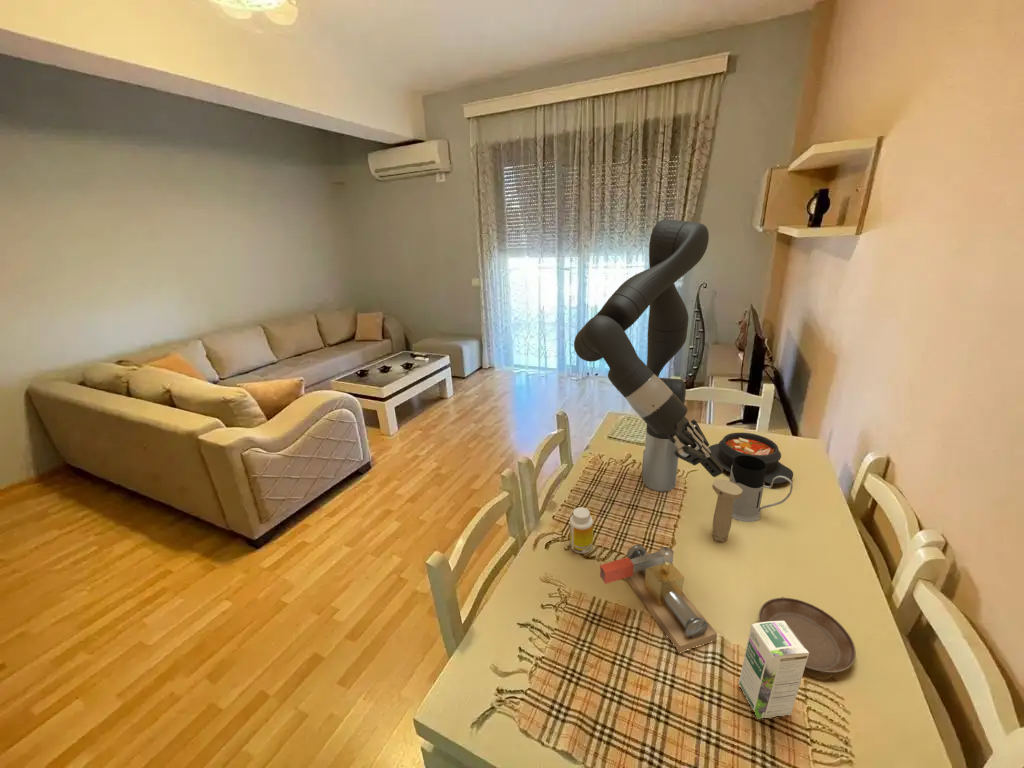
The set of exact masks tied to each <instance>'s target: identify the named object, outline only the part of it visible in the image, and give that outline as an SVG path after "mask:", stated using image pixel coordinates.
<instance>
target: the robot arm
mask: <svg viewBox="0 0 1024 768" xmlns="http://www.w3.org/2000/svg"><path fill="white" fill-rule="evenodd" d="M650 234H651V235H650V237H649V244H648V245H649V246H648V264H649V267H648V268H647V269H644V270H642V271H641V272H638V273H636V274H635V275H632V276H631V277H630V278H628V279H626V280H625V281H624V282H623V283H622V284H621V285H620V286H619V287H618V288H617V289H616V290H615V291H614V292H613V293H612V294H611V296H610V297H608V299H607V300H606V302H605V303H604V305H603V306H602V308H601V309H600V310H599V311H598V312H597V313H596V314H594V316H593V317H592V318H590V319H589V320H588V321H587V322H586V323H585V324H584V325H583V327H582V328H581V329H580V330H579V331H578V332H577V333H576V335H575V337H574V341H573V343H574V344H573V348H574V351H575V354H576V355H577V356H578V357H579V358H580V359H582V360H583V361H586V362H596V361H600V360H602V359H603V360H604V362H605V363H606V364H607V366H608V367H609V370H608V373H607V378H608V380H609V381H610V383H611V384H612V385H613V387H615V389H616V390H617V391H618V392H619V393H620V394H621V395H622V396H623V397H624V399H625V400H626V401H627V403H628V404H629V405H630V407H631V409H633V411H635V412H636V413H637V415H638V416H639V417H640V418H641V419H642V420H643V422H645V424H646V429H645V430H646V431H645V444H644V445H645V448H644V449H643V451H642V452H643V454H642V465H641V466H642V467H641V469H642V470H641V477H642V481H643V484H644V486H646V487H647V488H648V489H650V490H653V491H656V492H662V493H663V492H670V491H672V490H674V489H675V488H676V483H677V475H678V473H677V472H678V463H679V459H681V460H683V461H684V462H687V463H688V464H691V465H693V466H696V465H698V464H700V465H702V467H704V469H705V470H706V471H707V472H708V473H709V475H710V476H711V477H713V478H717V477H718V476H720V475H722V474H723V472H724V469H723V466H722V465H721V464H720V463H719V462H718V461H717V460H716V459H715V458H714V457H713V456H712V454H710V453H711V451H710V449H709V448H708V447H710V443H709V441H708V439H707V438H706V436H705V434H704V432H703V431H702V429H701V427H700V426H699V424H698V422H697V421H696V419H692V420H688V418H687V417H686V416H687V413H688V410H689V409H688V407H687V406H686V404H685V403H686V402H685V401H686V395H687V394H686V392H687V391H686V390H687V388H686V383H685V381H684V380H683V379H681V378H670V377H669V378H668V377H665V378H664V377H659V376H660V374H661V372H662V371H663V369H664V367H666V365H667V364H668V363H669V361H671V360H672V359H673V358H674V357H675V356H676V355H677V354H678V353H679V352H680V350H682V348H683V347H684V345H685V343H686V342H687V341H686V340H687V335H688V326H689V313H688V309H687V306H686V304H685V303H684V301H683V298H682V296H681V294H680V293H679V291H678V288H677V287H676V284H675V283H676V282H678V280H680V279H681V278H682V277H683V276H684V275H686V274H687V273H688V272H689V271H691V270H692V269H693V268H694V267H695V266H696V265H698V263H699V262H700V261H701V260H702V259H703V257H704V255H705V254H706V251H707V248H708V246H709V239H710V236H709V235H710V234H709V229H708V227H707V226H706V225H705V224H703V223H701V222H696V221H689V220H679V219H677V220H676V219H667V218H666V219H661V220H658V221H657V222H656V224H655V225H654V227H653V229H652V231H651V233H650ZM647 308H649V313H648V321H647V323H648V325H647V349H646V350H647V351H646V352H647V354H646V355H647V356H646V364H645V362H644V361H643V360H642V359H641V358H640V357H639V355H638V353H637V351H636V349H635V347H634V345H633V344H632V342H631V341H630V339H629V337H628V335H627V333H626V332H625V331H627V330H628V329H629V328H630V327H632V325H634V323H635V322H637V320H639V318H640V317H641V316H642V314H644V312H646V310H647Z"/></svg>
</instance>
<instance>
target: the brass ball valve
mask: <svg viewBox="0 0 1024 768" xmlns="http://www.w3.org/2000/svg"><path fill="white" fill-rule="evenodd" d="M646 553H647V550H646V548H645V546H643V545H642V544H635V545H633V546H631V547H630V548H629V549H628V551H627V553H626V558H627V557H628V558H629V559H633V558H637V557H640V556H644V555H646ZM640 571H641V572H642V573H643V574H644V576H645V588H646V590H647V591H648V592H649V594H650V595H651V597H652V598H653V599H654V601H655V602H656V603H657V605H658V606H659V607H661V606H664V605H667V606H668V607H669V608H670V610H671V611H672V612H673V614H674V615H675V616H676V618H677V619H678V620H679V622H680V623H681V624H682V625H683V627H684V628H685V630H684V633H685V635H686V636H687V637H688V639H692V638H697V637H699V636H701V635H704V633H705V632H706V630H707V628H708V625H707V623H706V622H705V621H704V619H702V618H698V617H697V616H696V615H695V613H694V612H693V611H692V610H691V609H690V607H689V606H688V605H687V604H686V602H685V601H684V600H683V599H682V592H683V590H684V581H685V577H684V574H682V573H681V572H680V570H679V569H677V567H676V566H675V565H674V564H673V563H672V564H671V565H664V564H661V565H657V566H654V567H651V568H647V569H644V570H640Z"/></svg>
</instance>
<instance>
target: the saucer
mask: <svg viewBox="0 0 1024 768" xmlns="http://www.w3.org/2000/svg"><path fill="white" fill-rule="evenodd" d="M758 621H759V623H760V622H768V621H785V622H786V624H787V625H788V626H789V627H790V629H791V630H792V631H793V633H794V634H795V635H796V636H797V638H798V639H799V641H800V642H801V643H802V645H803V646H804V648H805V649H806V650H807V651H808V652H809V655H808V659H807V662H806V665H805V668H806V669H809V670H812V671H814V672H820V673H829V674H830V673H838V672H843V671H846V670H848V669H849V668H850V667H851V666H853V664H854V662H855V660H856V656H857V655H856V654H857V651H856V645H855V644H854V641H853V639H852V637H851V636H850V634H849V633H848V632H847V630H846V629H845V627H843V625H842V624H841V623H839V621H838V620H836V619H835V618H834V617H833V616H832V615H830V614H829V613H827V612H826V611H824V610H823V609H821V608H820V607H818V606H815V605H813V604H811V603H809V602H806V601H803V600H800V599H797V598H791V597H777V598H771V599H769V600H767V601H765V602H764V603H763V604H762V606H761V607H760V610H759V612H758Z"/></svg>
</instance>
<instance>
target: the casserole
mask: <svg viewBox="0 0 1024 768" xmlns="http://www.w3.org/2000/svg"><path fill="white" fill-rule="evenodd" d="M708 448H709V449H710V451H711V453H710V454H712V456H713V457H714V458H715V459H716V460H717V461H718V462H719V463H720V464H721V465H722V466H723V470H725V471H726V472H728V473H730V474H731V467H732V465H733V459H734V458H735V457H736V456H740V455H748V456H753V457H756V458H759V459H761V460H762V461H764V462H765V463H766V465H767V468H766V473H765V479H764V483H767V484H770V485H771V482H772V480H773V478H774V477H776V476H785V477H787V478H789V479H790V480H792V478H793V477H794V472H793V470H791V468H789V467H787V466H785V464H783V463H781V462H780V460H781V459H782V453H781V451H780V450H779V447H778V445H777V444H776V442H774V441H773V440H772V439H769V438H768V437H765V436H763V435H759V434H756V433H750V432H731V433H728V434H726V435H725V436H724V437H723V438H722V439H721V440H720V441H719V442H718V443H714V444H712V445H709V446H708ZM786 482H789V481H788V480H786V479H784V478H777V479H775V480H774V482H773V485H778V484H785V483H786Z"/></svg>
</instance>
